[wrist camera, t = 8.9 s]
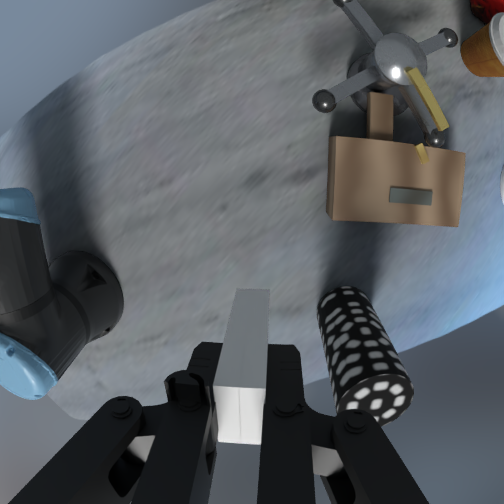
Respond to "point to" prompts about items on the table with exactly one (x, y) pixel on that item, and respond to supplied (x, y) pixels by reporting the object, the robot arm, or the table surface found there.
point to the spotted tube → (361, 357)
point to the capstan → (391, 74)
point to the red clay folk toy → (486, 9)
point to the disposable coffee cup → (486, 49)
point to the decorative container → (502, 185)
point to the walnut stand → (392, 176)
